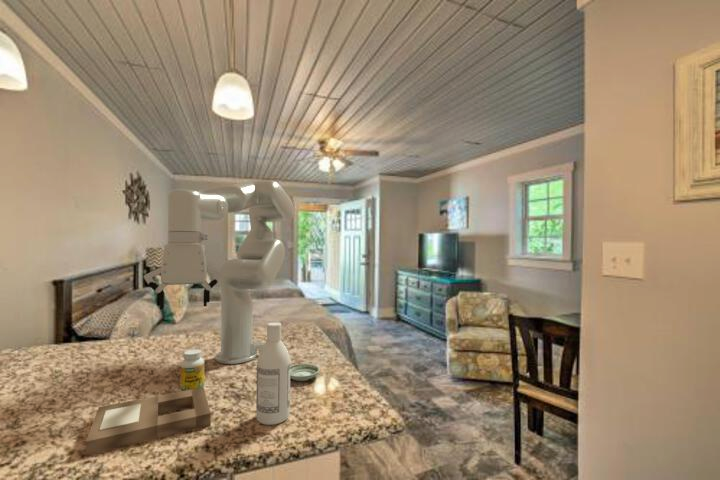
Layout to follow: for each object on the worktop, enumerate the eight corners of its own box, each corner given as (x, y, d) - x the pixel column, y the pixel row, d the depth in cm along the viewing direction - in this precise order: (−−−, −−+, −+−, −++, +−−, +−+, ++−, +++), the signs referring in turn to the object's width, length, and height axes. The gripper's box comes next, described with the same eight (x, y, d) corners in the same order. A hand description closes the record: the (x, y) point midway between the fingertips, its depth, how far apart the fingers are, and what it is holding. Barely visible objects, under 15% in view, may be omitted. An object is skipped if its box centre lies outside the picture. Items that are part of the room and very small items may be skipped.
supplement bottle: (202, 383, 89) (202, 347, 89) (205, 391, 84) (206, 352, 84) (179, 388, 86) (179, 350, 86) (181, 396, 81) (182, 356, 81)
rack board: (203, 397, 81) (203, 386, 81) (210, 425, 69) (210, 412, 69) (98, 418, 71) (99, 406, 71) (85, 456, 58) (85, 440, 58)
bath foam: (276, 406, 77) (277, 318, 77) (296, 416, 72) (297, 323, 73) (249, 418, 72) (250, 324, 72) (268, 430, 67) (270, 329, 67)
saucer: (326, 374, 96) (326, 366, 96) (307, 388, 87) (307, 378, 87) (298, 369, 100) (298, 360, 100) (277, 381, 91) (277, 372, 91)
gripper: (220, 239, 92) (220, 301, 92) (146, 238, 85) (145, 306, 85) (222, 239, 85) (222, 307, 85) (142, 238, 78) (141, 312, 78)
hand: (184, 306), depth 85 cm, fingers open, 9 cm apart
